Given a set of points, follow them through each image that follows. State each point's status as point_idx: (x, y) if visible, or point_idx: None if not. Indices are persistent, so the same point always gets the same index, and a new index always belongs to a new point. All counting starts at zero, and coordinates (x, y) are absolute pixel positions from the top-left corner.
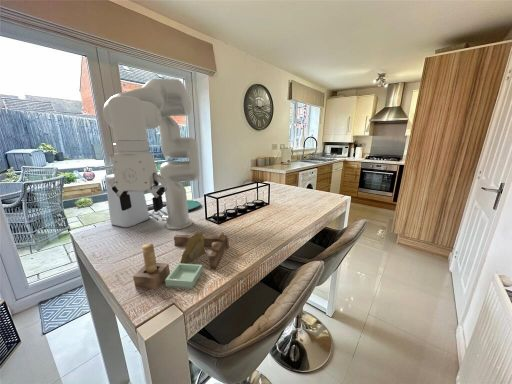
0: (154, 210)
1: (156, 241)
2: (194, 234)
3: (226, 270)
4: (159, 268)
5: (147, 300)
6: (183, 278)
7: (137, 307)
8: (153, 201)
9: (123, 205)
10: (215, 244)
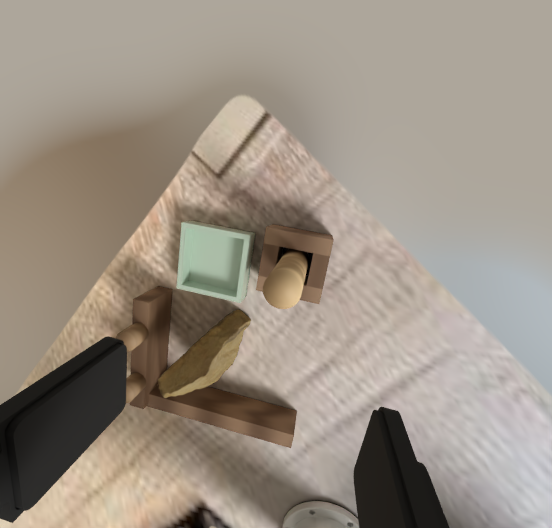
0: (115, 341)
1: None
2: (182, 387)
3: (134, 280)
4: (272, 269)
5: (282, 189)
6: (220, 255)
7: (296, 167)
8: (41, 391)
9: (384, 445)
10: (123, 335)
